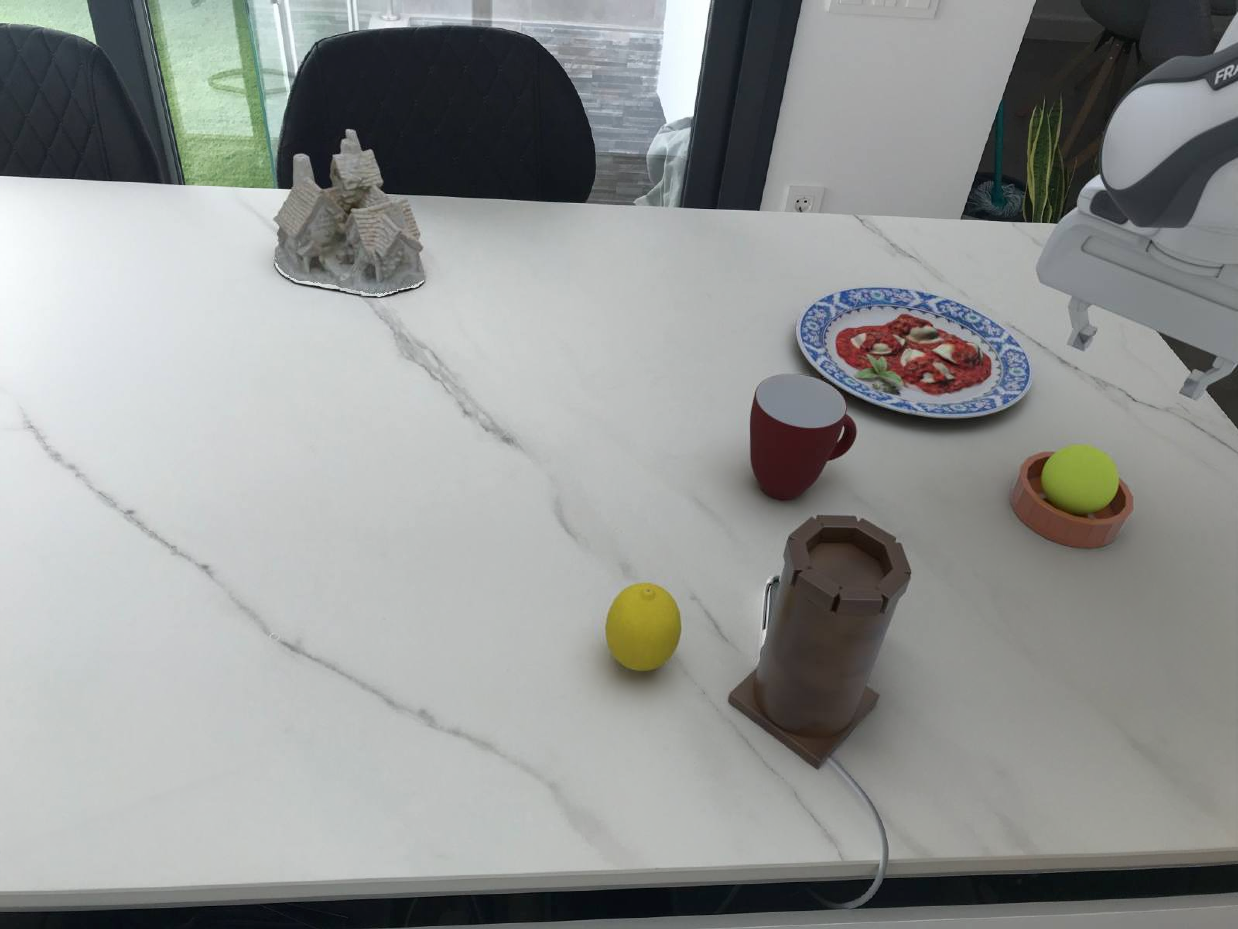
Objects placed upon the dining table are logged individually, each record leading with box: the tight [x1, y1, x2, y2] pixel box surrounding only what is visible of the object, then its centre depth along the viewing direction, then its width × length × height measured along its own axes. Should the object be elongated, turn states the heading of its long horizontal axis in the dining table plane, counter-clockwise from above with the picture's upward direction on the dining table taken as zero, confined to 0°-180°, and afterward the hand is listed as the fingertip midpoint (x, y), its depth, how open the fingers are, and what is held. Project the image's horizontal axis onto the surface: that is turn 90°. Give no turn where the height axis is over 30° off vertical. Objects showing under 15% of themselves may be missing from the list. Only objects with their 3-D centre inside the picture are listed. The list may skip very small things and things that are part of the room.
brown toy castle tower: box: [727, 514, 913, 770], centre depth 67 cm, size 8×8×16 cm
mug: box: [749, 373, 858, 501], centre depth 88 cm, size 11×8×10 cm
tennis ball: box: [1041, 444, 1120, 515], centre depth 89 cm, size 6×6×6 cm
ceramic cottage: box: [272, 128, 426, 294], centre depth 111 cm, size 16×16×15 cm
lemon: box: [604, 582, 682, 672], centre depth 72 cm, size 6×6×8 cm
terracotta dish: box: [1009, 451, 1134, 549], centre depth 90 cm, size 10×10×3 cm
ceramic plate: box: [795, 285, 1034, 419], centre depth 108 cm, size 26×26×3 cm
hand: (1132, 369), depth 81 cm, fingers open, 8 cm apart
